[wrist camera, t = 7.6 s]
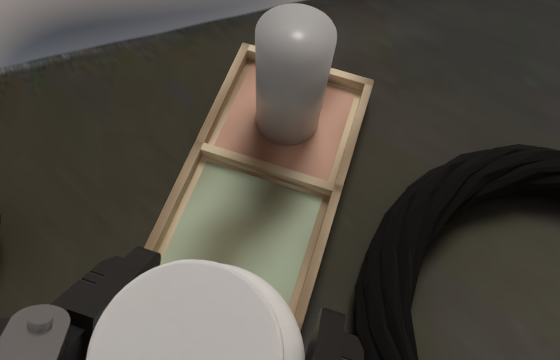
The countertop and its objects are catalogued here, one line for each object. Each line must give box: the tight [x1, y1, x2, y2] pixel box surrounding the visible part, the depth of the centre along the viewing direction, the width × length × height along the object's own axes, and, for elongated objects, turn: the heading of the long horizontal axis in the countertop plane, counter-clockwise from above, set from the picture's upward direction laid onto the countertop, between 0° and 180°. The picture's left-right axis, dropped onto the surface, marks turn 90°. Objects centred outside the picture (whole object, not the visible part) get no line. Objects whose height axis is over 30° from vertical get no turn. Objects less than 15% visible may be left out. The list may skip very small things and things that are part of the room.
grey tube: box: [255, 3, 337, 146], centre depth 30 cm, size 5×5×9 cm
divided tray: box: [144, 43, 374, 331], centre depth 32 cm, size 11×20×2 cm, turn 162°
